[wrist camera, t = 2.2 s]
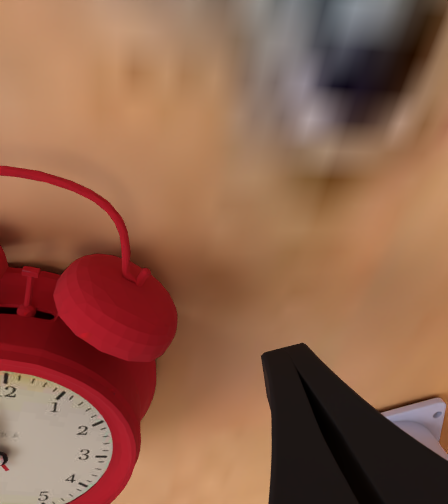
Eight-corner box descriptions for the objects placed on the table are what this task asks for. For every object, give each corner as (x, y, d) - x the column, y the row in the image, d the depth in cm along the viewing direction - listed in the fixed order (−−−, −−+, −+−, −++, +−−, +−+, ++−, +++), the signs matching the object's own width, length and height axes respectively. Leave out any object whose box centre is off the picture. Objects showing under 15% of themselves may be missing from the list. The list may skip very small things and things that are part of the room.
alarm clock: (-177, 565, 13) (-538, 252, 4) (-82, 400, 18) (-169, 94, 9) (119, 554, 16) (246, 353, 7) (132, 414, 21) (218, 194, 12)
